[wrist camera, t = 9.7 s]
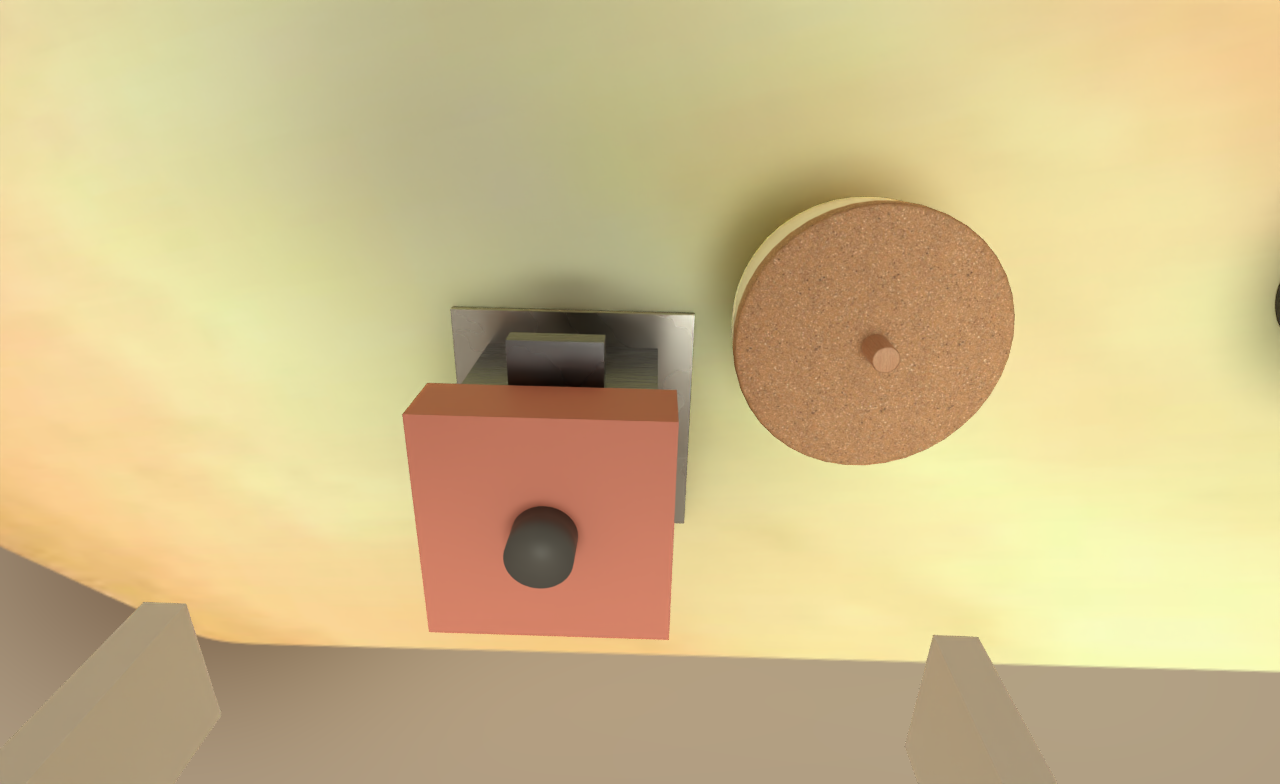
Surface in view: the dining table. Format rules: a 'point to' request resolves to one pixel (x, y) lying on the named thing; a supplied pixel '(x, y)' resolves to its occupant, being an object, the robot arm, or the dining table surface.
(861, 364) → the lidded jar
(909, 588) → the dining table surface
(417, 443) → the lid
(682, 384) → the metal cube on plate
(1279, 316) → the coffee cup
